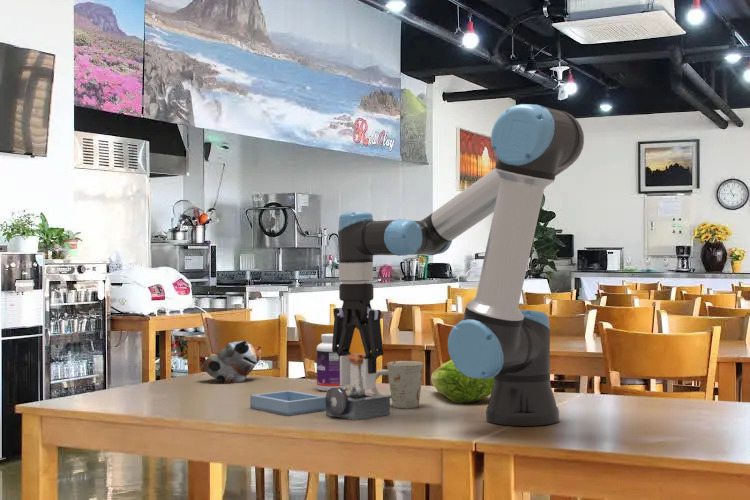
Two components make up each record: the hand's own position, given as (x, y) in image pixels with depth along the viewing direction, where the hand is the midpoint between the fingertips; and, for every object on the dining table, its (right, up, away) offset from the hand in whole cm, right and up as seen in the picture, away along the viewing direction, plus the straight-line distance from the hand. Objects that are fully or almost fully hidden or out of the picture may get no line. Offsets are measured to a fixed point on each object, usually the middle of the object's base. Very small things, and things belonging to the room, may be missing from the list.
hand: (357, 386), depth 217 cm
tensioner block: (0, -6, 0) cm, 6 cm away
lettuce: (+24, -6, +23) cm, 34 cm away
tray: (-16, -6, +9) cm, 19 cm away
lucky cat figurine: (-36, -7, +61) cm, 71 cm away
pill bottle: (-7, -7, +40) cm, 41 cm away
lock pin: (0, -6, 0) cm, 6 cm away
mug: (+9, -6, +11) cm, 16 cm away
